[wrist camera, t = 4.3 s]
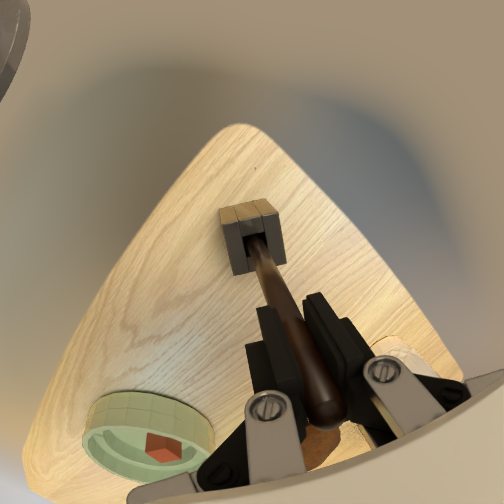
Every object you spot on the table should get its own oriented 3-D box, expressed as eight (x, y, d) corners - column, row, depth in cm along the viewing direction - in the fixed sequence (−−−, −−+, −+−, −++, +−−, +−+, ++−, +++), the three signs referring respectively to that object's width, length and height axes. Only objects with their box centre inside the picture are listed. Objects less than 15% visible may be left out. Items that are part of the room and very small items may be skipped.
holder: (229, 251, 26) (233, 276, 21) (218, 208, 24) (221, 224, 20) (273, 241, 26) (287, 263, 22) (265, 198, 25) (278, 211, 20)
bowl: (127, 457, 37) (123, 485, 31) (69, 392, 30) (56, 424, 24) (226, 450, 38) (230, 481, 32) (188, 380, 31) (187, 420, 25)
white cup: (348, 357, 33) (383, 416, 24) (399, 320, 32) (445, 370, 23) (367, 385, 36) (397, 436, 27) (412, 352, 35) (449, 398, 26)
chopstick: (241, 233, 26) (314, 442, 7) (238, 220, 25) (312, 422, 7) (255, 230, 26) (352, 430, 7) (252, 217, 25) (354, 408, 7)
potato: (343, 413, 38) (360, 447, 31) (296, 451, 40) (305, 484, 34) (312, 405, 36) (327, 444, 29) (263, 446, 38) (271, 482, 32)
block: (162, 444, 35) (161, 463, 31) (146, 432, 33) (144, 452, 30) (181, 439, 34) (181, 459, 31) (166, 427, 33) (165, 448, 30)
